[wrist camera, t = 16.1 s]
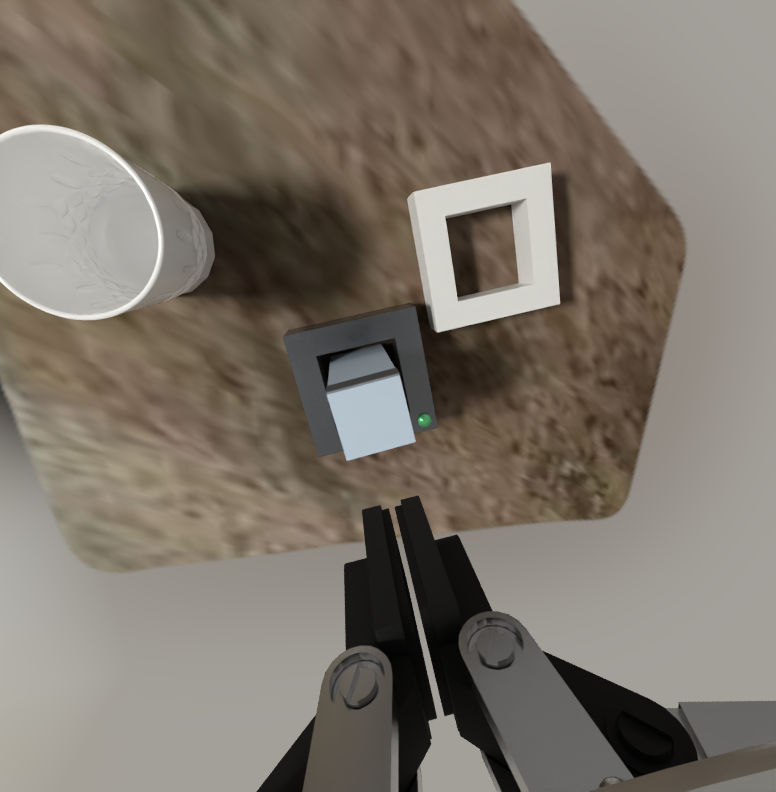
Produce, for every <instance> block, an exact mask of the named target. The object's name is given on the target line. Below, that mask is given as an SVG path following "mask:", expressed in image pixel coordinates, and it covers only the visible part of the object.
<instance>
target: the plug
mask: <svg viewBox="0 0 776 792" xmlns="http://www.w3.org/2000/svg"><path fill="white" fill-rule="evenodd" d="M326 395H327V398H328V401H329V405H330V408H331V411H332V414H333V418H334V421H335V424H336V427H337V431H338V434H339V437H340V440H341V443H342V447H343V450H344V453H345V456H346V459H347V461H348V460H352V459H355V458H359V457H363V456H366V455H370V454H373V453H377V452H381V451H384V450H388V449H392V448H395V447H399V446H402V445H406V444H410V443H413V442H416V441H415V440H416V439H415V435H414V431H413V427H412V423H411V419H410V415H409V410H408V406H407V402H406V398H405V394H404V390H403V386H402V381H401V377H400V373H399V371H398V369H397V368H395V367H394V365H393V363H392V361H391V360H390V358H389V356H388V355H387V353H386V351H385V350H384V348H383V346H382V345H381V344H377V345H373V346H369V347H365V348H362V349H358V350H354V351H350V352H346V353H343V354H339V355H335V356H331V357H330V366H329V376H328V386H326Z"/></svg>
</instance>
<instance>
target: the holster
mask: <svg viewBox="0 0 776 792" xmlns="http://www.w3.org/2000/svg"><path fill="white" fill-rule="evenodd" d="M407 201H408V207H409V212H410V218H411V224H412V229H413V235H414V241H415V247H416V252H417V258H418V264H419V269H420V275H421V281H422V286H423V292H424V298H425V303H426V309H427V315H428V320H429V326H430V328H431V329H433V330H434V331H436V332H437V333H438V332H442V331H446V330H450V329H455V328H459V327H463V326H468V325H472V324H476V323H480V322H485V321H489V320H493V319H498V318H502V317H506V316H511V315H515V314H519V313H523V312H528V311H532V310H536V309H541V308H545V307H549V306H553V305H558V304H560V294H559V280H558V265H557V251H556V236H555V222H554V207H553V193H552V178H551V164H550V163H546V164H541V165H536V166H532V167H527V168H523V169H518V170H513V171H509V172H504V173H499V174H495V175H490V176H485V177H481V178H476V179H471V180H467V181H462V182H457V183H453V184H448V185H443V186H439V187H434V188H429V189H425V190H420V191H415V192H413V193H412V194H411V195H410V196H409V197H408V198H407ZM507 205H511V209H512V219H513V229H514V239H515V249H516V259H517V269H518V279H519V283H518V284H514V285H509V286H505V287H500V288H496V289H492V290H487V291H483V292H479V293H474V294H470V295H466V296H461V297H457V292H456V285H455V278H454V272H453V265H452V258H451V252H450V245H449V238H448V232H447V225H446V219H447V218H452V217H456V216H461V215H465V214H470V213H475V212H479V211H484V210H488V209H493V208H497V207H502V206H507Z"/></svg>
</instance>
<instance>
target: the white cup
mask: <svg viewBox="0 0 776 792" xmlns="http://www.w3.org/2000/svg"><path fill="white" fill-rule="evenodd" d="M214 259H215V250H214V242H213V234H212V231H211V230H210V228H209V226H208V225H207V223H206V221H205V220H204V218H203V216H202V214H201V213H200V211H199V210H198V209H196V208H195V207H194V206H193V205H191V204H190V203H189V202H187V201H186V200H185V199H183V198H182V197H181V196H180V195H179V194H178V193H177V192H176V191H174V190H173V189H172V188H170V187H169V186H167V185H166V184H164V183H163V182H161V181H160V180H158V179H157V178H156V177H155V176H153V175H152V174H150V173H149V172H147V171H146V170H144V169H142V168H141V167H139V166H138V165H136V164H134V163H133V162H131V161H130V160H128V159H126V158H125V157H123V156H122V155H120V154H119V153H117V152H115V151H114V150H112V149H111V148H109V147H108V146H106V145H105V144H103V143H101V142H100V141H98V140H96V139H94V138H92V137H90V136H88V135H86V134H84V133H81V132H78V131H76V130H72V129H69V128H65V127H60V126H54V125H28V126H22V127H18V128H15V129H12V130H9V131H6V132H4V133H2V134H0V282H1V283H2V284H3V285H4V286H5V287H7V288H8V289H9V290H10V291H11V292H13V293H14V294H15V295H17V296H18V297H19V298H21V299H22V300H24V301H25V302H27V303H29V304H30V305H32V306H34V307H36V308H38V309H40V310H43V311H45V312H48V313H50V314H53V315H56V316H60V317H64V318H69V319H76V320H98V319H105V318H109V317H113V316H116V315H120V314H123V313H127V312H130V311H134V310H137V309H141V308H144V307H148V306H152V305H155V304H159V303H162V302H164V301H167V300H170V299H173V298H175V297H177V296H179V295H181V294H184V293H188V292H192V291H193V290H194V289H195V288H196V287H198V286H199V285H200V284H201V283H202V282H203V281H204V280H205V279H207V278H208V276H209V273H210V270H211V267H212V264H213V262H214Z"/></svg>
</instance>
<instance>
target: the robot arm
mask: <svg viewBox="0 0 776 792" xmlns="http://www.w3.org/2000/svg"><path fill="white" fill-rule="evenodd" d="M395 511H396V515H397V519H398V523H399V527H400V532H401V536H402V540H403V544H404V548H405V553H406V557H407V561H408V565H409V569H410V574H411V578H412V582H413V586H414V590H415V594H416V599H417V603H418V607H419V611H420V615H421V620H422V624H423V628H424V632H425V636H426V641H427V645H428V649H429V653H430V657H431V661H432V665H433V669H434V673H435V678H436V682H437V686H438V690H439V695H440V699H441V703H442V707H443V711H444V715H445V716H447V715H451V714H454V717H455V720H456V724H457V728H458V731H459V732H460V736H461V737H463V738H464V739H466V740H468V741H469V742H470V743H472V744H473V745H475V746H476V747H478V748H479V749H480V751H481V754H482V758H483V760H484V763H485V765H486V767H487V769H488V772H489V774H490V777H491V779H492V781H493V783H494V786H495V788H496V790H497V792H776V701H734V702H733V701H730V702H679V706H678V708H664V707H662V706H661V705H659V704H657V703H656V702H654V701H652V700H650V699H648V698H646V697H644V696H642V695H639V694H637V693H635V692H633V691H631V690H628V689H626V688H624V687H622V686H619V685H617V684H615V683H613V682H611V681H608V680H606V679H604V678H601V677H600V676H597V675H595V674H593V673H591V672H588V671H586V670H584V669H582V668H579V667H577V666H575V665H573V664H571V663H569V662H566V661H564V660H562V659H560V658H557V657H555V656H553V655H551V654H549V653H546V652H544V651H542V650H541V649H540V647H539V646H538V644H537V643H536V642H535V640H534V639H533V637H532V636H531V635H530V633H529V632H528V631H527V629H526V628H525V627H524V626H523V625H522V624H521V623H520V622H519V621H518V620H517V619H515V618H514V617H512V616H510V615H509V614H505V613H501V612H497V611H496V612H495V611H492V609H491V607H490V605H489V602H488V600H487V598H486V596H485V594H484V591H483V589H482V587H481V585H480V582H479V580H478V578H477V576H476V574H475V571H474V569H473V567H472V565H471V563H470V560H469V558H468V556H467V554H466V551H465V549H464V547H463V545H462V543H461V540H460V538H459V536H458V535H454V536H450V537H446V538H442V539H438V540H434V537H433V534H432V531H431V529H430V526H429V523H428V520H427V517H426V515H425V512H424V509H423V506H422V503H421V501H420V498H419V496H414V497H410V498H407V499H403V500H401V505H400V506H396V507H395ZM362 515H363V525H364V535H365V545H366V555H367V558H365V559H362V560H357V561H354V562H350V563H346V564H345V565H344V584H345V629H346V631H345V633H346V651H345V652H343V653H341V654H340V655H339V656H338V657H337V658H336V659H335V660H334V661H333V662H332V663H331V665H330V666H329V668H328V669H327V671H326V672H325V676H324V679H323V682H322V685H321V691H320V696H319V702H318V708H317V713H316V716H315V717H314V718H313V719H312V720H311V722H310V723H309V725H308V726H307V727H306V728H305V730H304V731H303V732H302V733H301V735H300V736H299V738H298V739H297V740H296V741H295V743H294V744H293V745H292V746H291V748H290V749H289V750H288V752H287V753H286V754H285V756H284V757H283V758H282V759H281V761H280V762H279V763H278V765H277V766H276V767H275V768H274V770H273V771H272V773H271V774H270V775H269V776H268V778H267V779H266V780H265V781H264V783H263V784H262V785H261V787H260V788H259V789H258V791H257V792H422V774H421V769H420V764H421V762H422V760H423V759H424V757H425V755H426V753H427V751H428V749H429V747H430V745H431V741H430V739H432V738H431V732H430V728H429V723H428V721H429V720H433V719H436V718H437V716H436V711H435V706H434V702H433V697H432V693H431V688H430V684H429V679H428V675H427V670H426V666H425V661H424V657H423V652H422V647H421V643H420V638H419V634H418V630H417V625H416V620H415V616H414V611H413V607H412V602H411V598H410V593H409V589H408V585H407V580H406V576H405V572H404V568H403V564H402V560H401V556H400V552H399V548H398V544H397V540H396V536H395V532H394V528H393V523H392V519H391V515H390V511H389V508H388V509H384V510H382V509H381V506H380V505H379V506H375V507H371V508H367V509H363V510H362Z"/></svg>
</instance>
